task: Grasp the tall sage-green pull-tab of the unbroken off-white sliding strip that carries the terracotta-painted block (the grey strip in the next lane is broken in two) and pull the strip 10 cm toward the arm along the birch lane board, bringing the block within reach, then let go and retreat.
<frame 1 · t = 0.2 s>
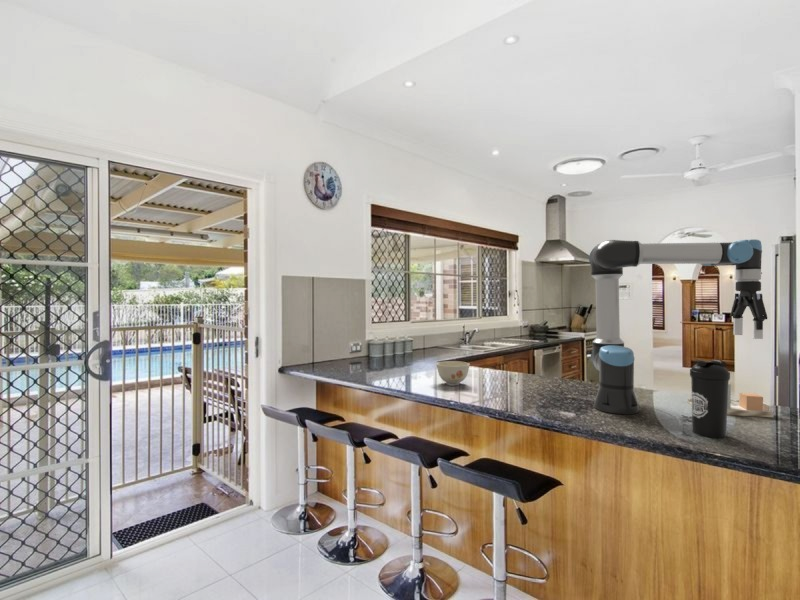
hand: (747, 336, 161), 27 cm above the countertop, fingers open, 13 cm apart
strip B broken: (730, 406, 163), resting on lane board
strip A: (741, 397, 156), point 6 cm above the countertop, slide at 0.0 cm, touching block
lane board: (727, 409, 160), on the countertop
water bottle: (709, 434, 133), on the countertop
bowl: (452, 384, 206), on the countertop
block: (750, 408, 155), point 2 cm above the countertop, touching strip A
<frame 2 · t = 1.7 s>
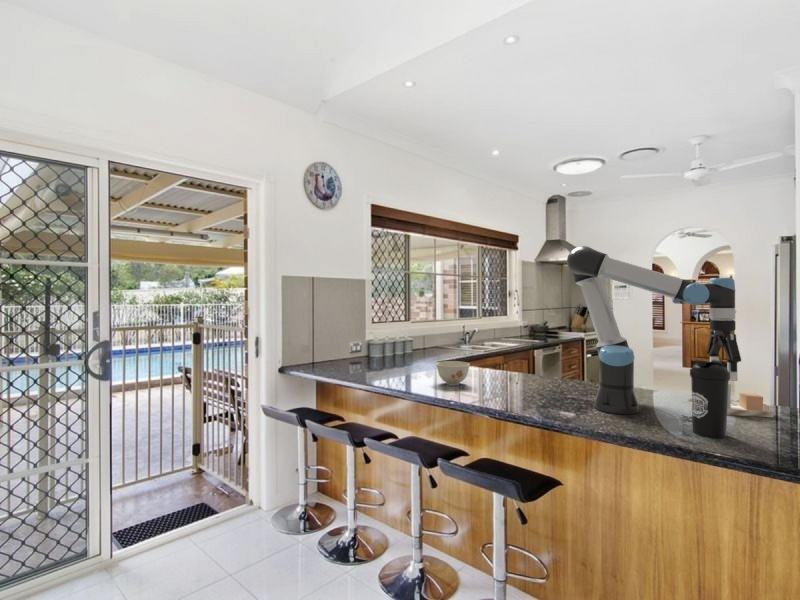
hand: (723, 377, 157), 13 cm above the countertop, fingers open, 13 cm apart
nothing on the countertop moved.
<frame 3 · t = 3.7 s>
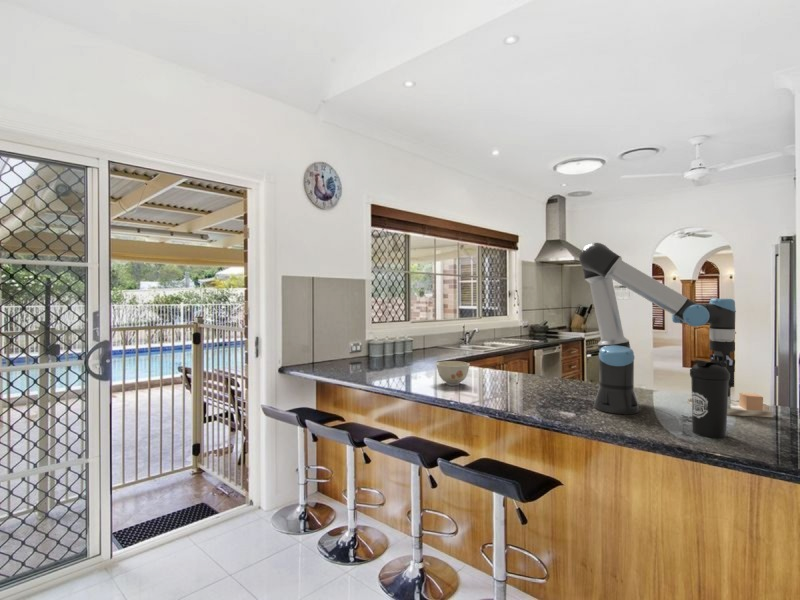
hand: (721, 402, 157), 3 cm above the countertop, fingers closed on strip A, 5 cm apart
strip A: (741, 397, 156), point 6 cm above the countertop, slide at 0.0 cm, touching block, gripper
everything else where it was.
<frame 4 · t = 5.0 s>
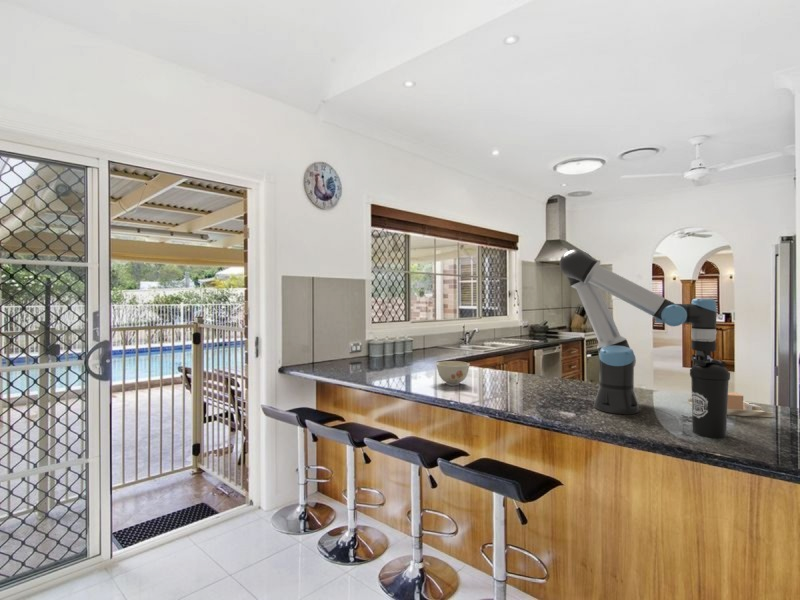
hand: (702, 402, 159), 3 cm above the countertop, fingers closed on strip A, 5 cm apart
strip A: (722, 396, 157), point 6 cm above the countertop, slide at 6.0 cm, touching block, gripper
block: (731, 407, 156), point 2 cm above the countertop, touching strip A
everything else where it was.
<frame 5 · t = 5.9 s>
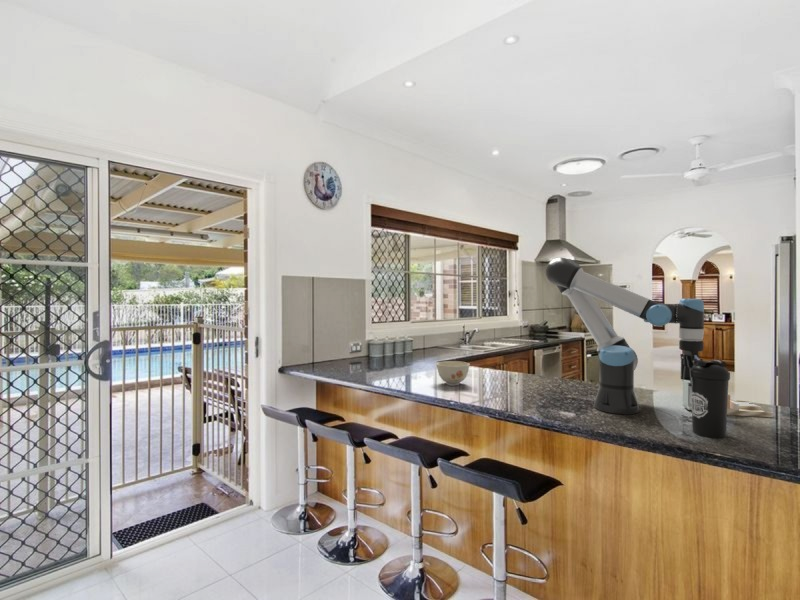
hand: (690, 401, 160), 3 cm above the countertop, fingers closed on strip A, 5 cm apart
strip A: (709, 395, 158), point 6 cm above the countertop, slide at 10.1 cm, touching block, gripper
block: (719, 406, 157), point 2 cm above the countertop, touching strip A
everything else where it was.
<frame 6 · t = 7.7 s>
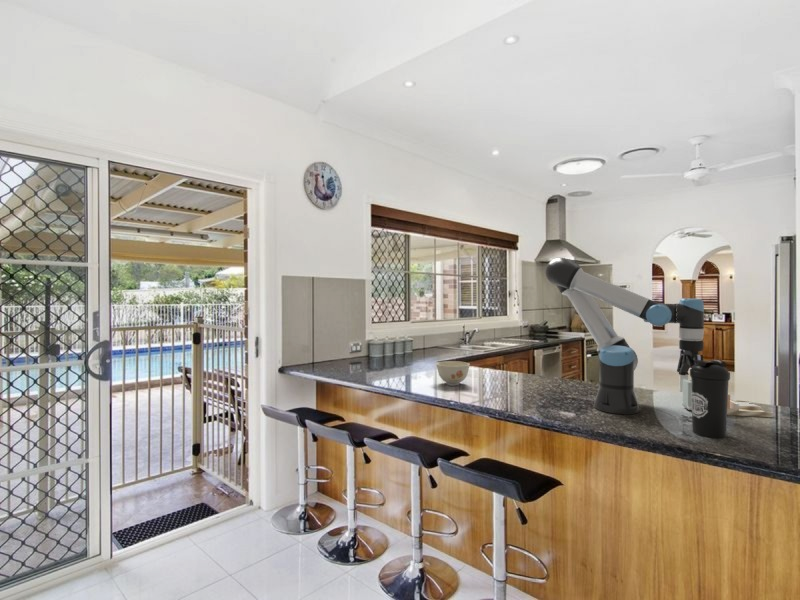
hand: (690, 396, 160), 5 cm above the countertop, fingers open, 13 cm apart
strip A: (709, 395, 158), point 6 cm above the countertop, slide at 10.1 cm, touching block
everything else where it was.
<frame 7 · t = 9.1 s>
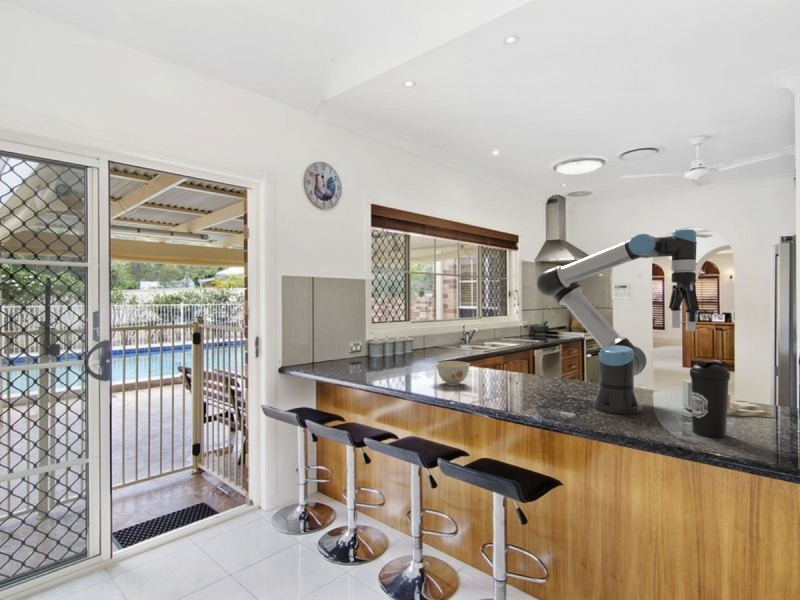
hand: (682, 329, 157), 31 cm above the countertop, fingers open, 13 cm apart
nothing on the countertop moved.
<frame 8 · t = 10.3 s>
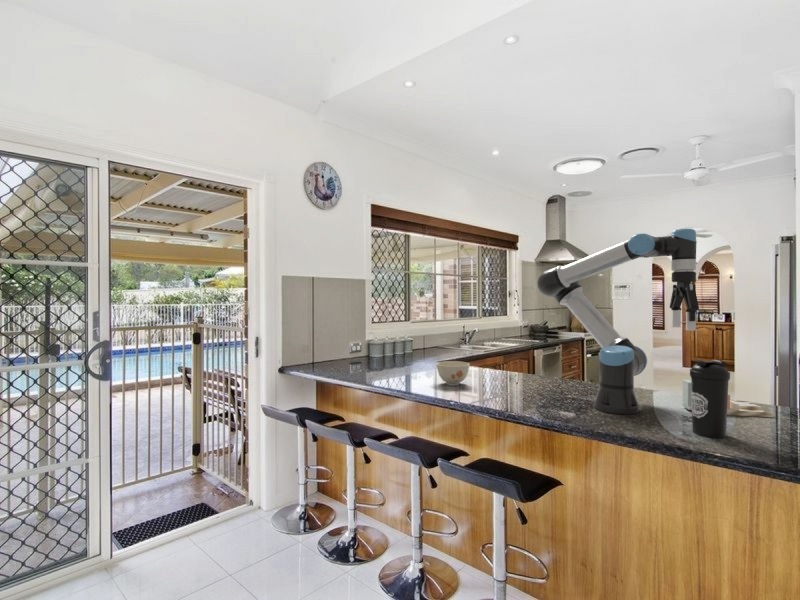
hand: (683, 328, 157), 31 cm above the countertop, fingers open, 13 cm apart
nothing on the countertop moved.
at the end: strip A slide at 10.1 cm; block inside the target area (0.9 cm from its centre), point 1.8 cm above the countertop; the gripper is holding nothing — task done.
